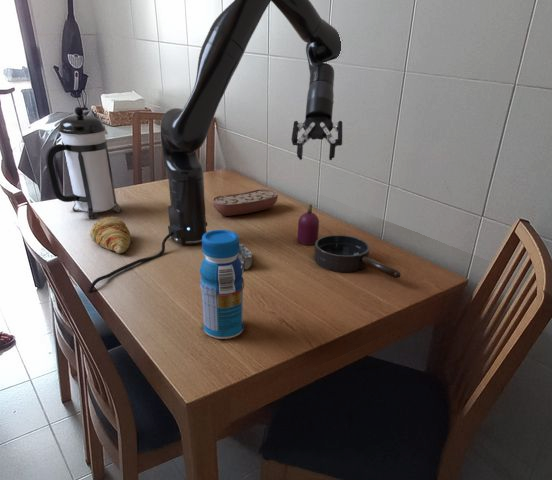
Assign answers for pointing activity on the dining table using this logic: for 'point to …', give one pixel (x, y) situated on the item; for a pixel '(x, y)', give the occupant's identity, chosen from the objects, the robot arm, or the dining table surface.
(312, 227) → the purple eggplant
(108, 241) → the croissant
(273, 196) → the anatomical model
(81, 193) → the coffee press
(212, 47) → the robot arm
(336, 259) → the pan
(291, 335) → the dining table surface
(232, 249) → the beverage bottle
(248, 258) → the grey irregular chunk
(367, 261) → the pan handle
